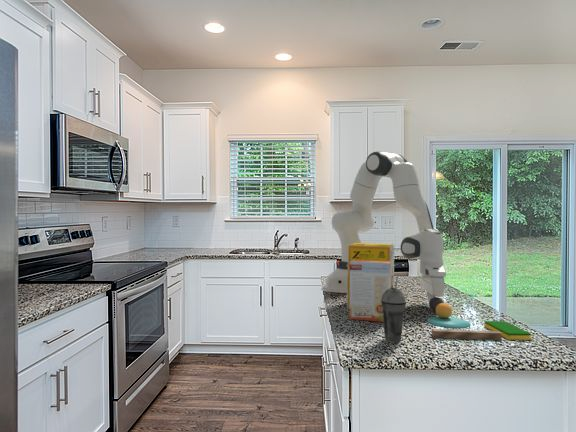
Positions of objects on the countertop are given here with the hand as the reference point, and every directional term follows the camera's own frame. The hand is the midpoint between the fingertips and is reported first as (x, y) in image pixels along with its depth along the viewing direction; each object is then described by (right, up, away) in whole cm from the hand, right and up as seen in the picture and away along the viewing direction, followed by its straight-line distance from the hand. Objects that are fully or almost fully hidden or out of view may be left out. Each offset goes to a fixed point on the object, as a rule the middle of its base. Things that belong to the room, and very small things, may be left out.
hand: (431, 303), depth 161 cm
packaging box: (-24, -2, +2) cm, 24 cm away
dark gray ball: (0, +1, -7) cm, 7 cm away
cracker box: (-29, -2, -19) cm, 34 cm away
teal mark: (-2, -2, -22) cm, 22 cm away
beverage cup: (-27, -2, -42) cm, 50 cm away
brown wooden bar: (-3, -2, -39) cm, 39 cm away
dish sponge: (+12, -3, -33) cm, 35 cm away
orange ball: (-1, +1, -17) cm, 17 cm away
